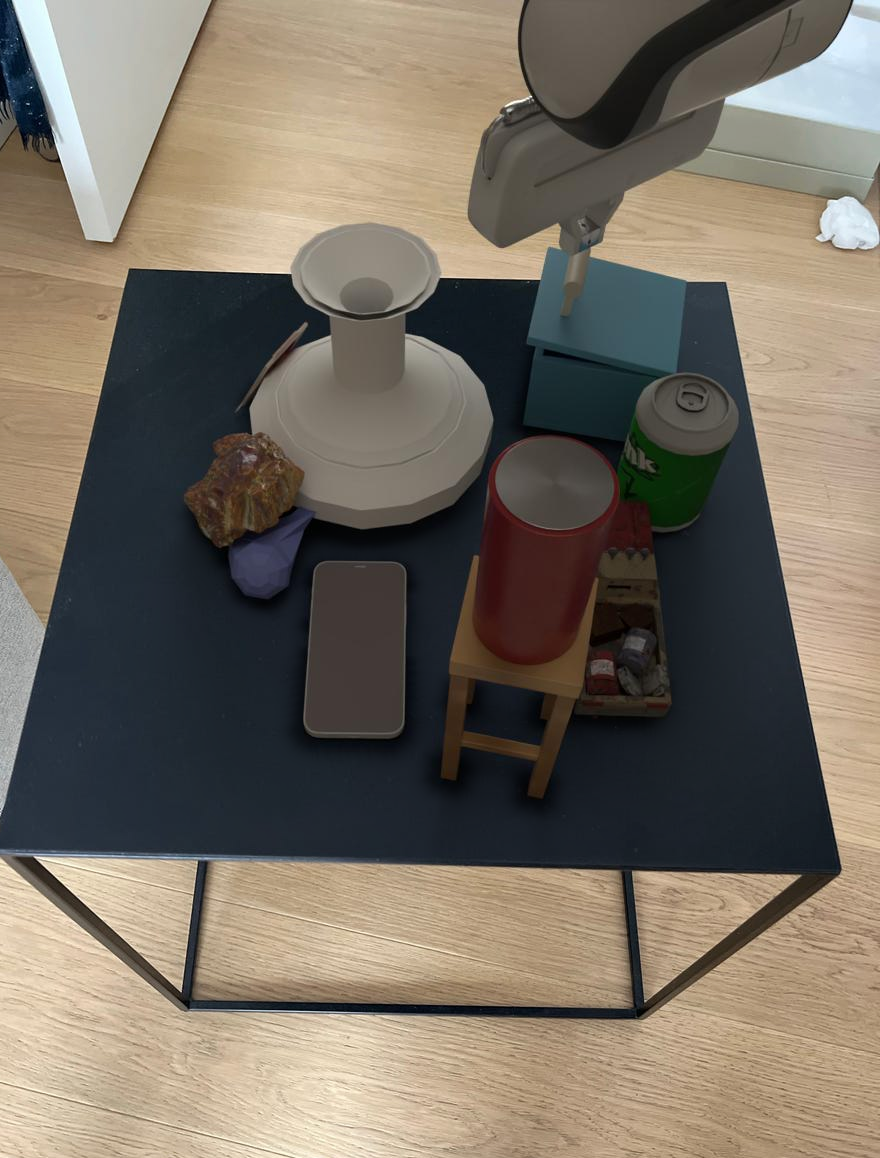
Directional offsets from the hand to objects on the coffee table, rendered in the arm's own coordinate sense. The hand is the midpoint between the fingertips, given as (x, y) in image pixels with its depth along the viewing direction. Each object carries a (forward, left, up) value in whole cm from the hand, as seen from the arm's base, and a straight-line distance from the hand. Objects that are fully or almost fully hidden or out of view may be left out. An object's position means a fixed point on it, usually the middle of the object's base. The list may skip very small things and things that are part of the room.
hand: (579, 245), depth 75 cm
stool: (-1, +35, -16) cm, 38 cm away
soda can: (-10, +10, -16) cm, 22 cm away
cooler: (-4, -2, -16) cm, 17 cm away
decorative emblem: (+22, +3, -9) cm, 24 cm away
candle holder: (+14, +11, -16) cm, 24 cm away
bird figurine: (+19, +26, -11) cm, 34 cm away
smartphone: (+11, +30, -16) cm, 35 cm away
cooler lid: (-3, -2, -8) cm, 8 cm away
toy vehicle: (-7, +23, -16) cm, 29 cm away
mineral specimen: (+24, +19, -8) cm, 31 cm away
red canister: (-1, +35, +1) cm, 35 cm away
